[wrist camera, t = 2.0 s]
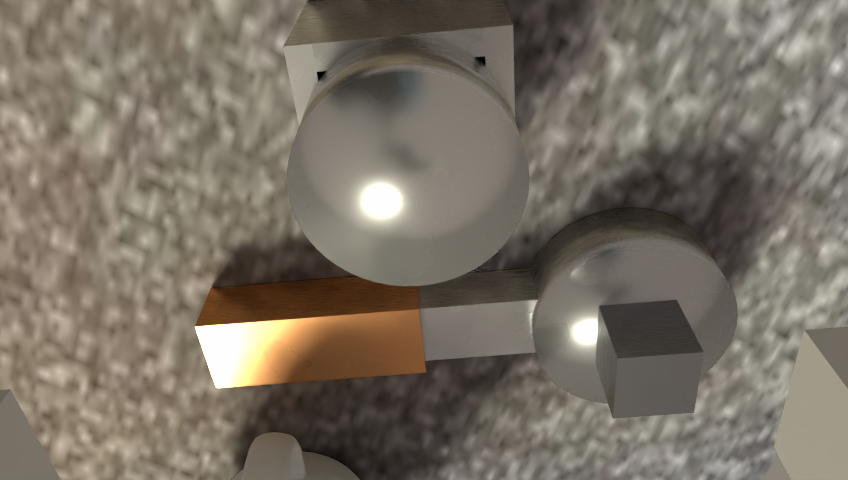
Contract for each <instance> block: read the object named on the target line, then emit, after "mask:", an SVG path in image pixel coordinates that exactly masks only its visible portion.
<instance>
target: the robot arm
mask: <svg viewBox="0 0 848 480" xmlns="http://www.w3.org/2000/svg"><path fill="white" fill-rule="evenodd" d="M774 449H775V450H776V452H777V454H778V456H779V458H780V459H781V461H782V463H783V465H784V467H785V468H786V470H787V472H788V474H789V475H790V477H791V479H792V480H848V327H837V328H824V329H811V330H804V333H803V337H802V341H801V344H800V348H799V352H798V356H797V360H796V364H795V368H794V371H793V375H792V379H791V383H790V387H789V391H788V395H787V398H786V402H785V406H784V410H783V414H782V418H781V422H780V425H779V429H778V433H777V437H776V441H775V445H774ZM0 480H61V479H60V477H59V476H58V474H57V472H56V470H55V468H54V467H53V465H52V463H51V461H50V459H49V458H48V456H47V454H46V452H45V451H44V449H43V447H42V445H41V443H40V442H39V440H38V438H37V436H36V434H35V433H34V431H33V429H32V427H31V426H30V424H29V422H28V420H27V418H26V417H25V415H24V413H23V411H22V409H21V408H20V406H19V404H18V402H17V401H16V399H15V397H14V395H13V393H12V392H11V390H10V389H9V390H0Z"/></svg>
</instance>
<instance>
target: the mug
mask: <svg viewBox="0 0 848 480" xmlns="http://www.w3.org/2000/svg"><path fill="white" fill-rule="evenodd" d="M231 480H360V479H359V478H358V477H357V476H356V475H355V474H354V473H353V472H352V471H351V470H350V469H349V468H348V467H346V466H345V465H343V464H342V463H340V462H338V461H337V460H335V459H332V458H330V457H328V456H324V455H321V454H317V453H312V452H304V451H302V450H301V447H300V445H299V443H298V441H297V440H296V439H295V438H294V437H293V436H291V435H289V434H284V433H277V432H272V433H265V434H262V435H260V436H258V437H256V438H255V439H254V441H253V442H252V444H251V446H250V448H249V451H248V455H247V458H246V462H245V466H244V469H243V470H241V471H240V472H239V473H237V474H236V475H235V476H234V477H233V478H232V479H231Z"/></svg>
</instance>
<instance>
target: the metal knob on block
mask: <svg viewBox="0 0 848 480" xmlns="http://www.w3.org/2000/svg"><path fill="white" fill-rule="evenodd" d="M283 48H284V53H285V58H286V63H287V68H288V73H289V78H290V83H291V88H292V93H293V98H294V102H295V107H296V112H297V117H298V122H299V129H298V132H297V134H296V137H295V140H294V143H293V146H292V149H291V153H290V156H289V161H288V168H287V189H288V195H289V201H290V204H291V207H292V211H293V213H294V216H295V218H296V220H297V222H298V224H299V226H300V228H301V229H302V231H303V232H304V234H305V236H306V237H307V238H308V239H309V241H310V242H311V243H312V244H313V245H314V247H315V248H316V249H317V250H318V251H319V252H321V253H322V254H323V255H324V256H325V257H326V258H327V259H329V260H330V261H331V262H333V263H334V264H336V265H337V266H339V267H340V268H342V269H344V270H346V271H347V272H349V273H351V274H354V275H356V276H358V277H361V278H363V279H367V280H370V281H373V282H377V283H382V284H387V285H395V286H423V285H430V284H436V283H440V282H444V281H448V280H451V279H454V278H456V277H459V276H462V275H464V274H466V273H468V272H470V271H472V270H474V269H475V268H477V267H479V266H480V265H482V264H483V263H485V262H486V261H487V260H489V259H490V258H491V257H492V256H493V255H495V254H496V253H497V252H498V251H499V250H500V249H501V248H502V247H503V245H504V244H505V243H506V242H507V241H508V239H509V238H510V237H511V235H512V234H513V232H514V231H515V229H516V227H517V225H518V223H519V222H520V220H521V217H522V214H523V212H524V209H525V206H526V202H527V197H528V191H529V170H528V162H527V158H526V154H525V150H524V147H523V143H522V140H521V137H520V134H519V130H518V127H517V124H516V121H515V89H514V42H513V23H512V21H511V19H510V16H509V14H508V12H507V9H506V7H505V5H504V2H503V0H320V1H310V2H307V3H306V4H305V6H304V8H303V10H302V12H301V14H300V16H299V18H298V20H297V21H296V23H295V25H294V27H293V29H292V31H291V33H290V35H289V37H288V38H287V40H286V42H285V44H284V46H283Z"/></svg>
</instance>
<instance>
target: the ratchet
mask: <svg viewBox="0 0 848 480" xmlns="http://www.w3.org/2000/svg"><path fill="white" fill-rule="evenodd" d="M737 316H738V313H737V303H736V299H735V295H734V292H733V290H732V288H731V286H730V284H729V283H728V281H727V280H726V278H725V276H724V275H723V273H722V272H721V270H720V269H719V267H718V266H717V264H716V262H715V261H714V259H713V258H712V256H711V255H710V253H709V252H708V250H707V248H706V247H705V245H704V244H703V242H702V241H701V239H700V238H699V237H698V235H697V234H696V233H695V232H694V231H693V230H692V229H691V228H690V227H689V226H688V225H686V224H685V223H683V222H682V221H681V220H679V219H677V218H675V217H673V216H671V215H668V214H665V213H662V212H660V211H655V210H650V209H642V208H620V209H613V210H607V211H603V212H599V213H596V214H593V215H590V216H587V217H585V218H583V219H580V220H578V221H576V222H574V223H572V224H571V225H569V226H568V227H566V228H565V229H563V230H561V231H560V232H559V233H558V234H556V235H555V236H554V237H553V238H552V239H551V240H550V241H549V242H548V243H547V244H546V245H545V246H544V247H543V248H542V249H541V251H540V252H539V253H538V255H537V256H536V258H535V260H534V261H533V263H532V265H531V267H530V268H526V269H513V270H501V271H488V272H476V273H466V274H464V275H462V276H459V277H456V278H454V279H451V280H448V281H444V282H440V283H436V284H430V285H423V286H395V285H387V284H382V283H377V282H373V281H370V280H367V279H363V278H361V277H358V276H354V277H342V278H329V279H317V280H305V281H292V282H280V283H267V284H255V285H242V286H230V287H217V288H211V289H210V292H209V294H208V296H207V299H206V301H205V304H204V306H203V308H202V311H201V313H200V316H199V318H198V320H197V323H196V325H195V329H196V332H197V334H198V337H199V340H200V343H201V346H202V349H203V352H204V355H205V357H206V360H207V363H208V366H209V369H210V372H211V375H212V378H213V380H214V383H215V386H216V388H225V387H239V386H252V385H266V384H279V383H293V382H306V381H319V380H333V379H346V378H360V377H373V376H387V375H400V374H413V373H426V361H429V360H442V359H455V358H469V357H482V356H495V355H509V354H522V353H535V352H536V355H537V358H538V361H539V363H540V365H541V367H542V369H543V370H544V372H545V373H546V374H547V376H548V377H549V378H550V379H551V380H552V381H553V382H554V383H555V384H557V385H558V386H559V387H561V388H562V389H563V390H565V391H567V392H569V393H571V394H573V395H575V396H577V397H580V398H583V399H586V400H590V401H594V402H599V403H607V404H608V405H609V408H610V411H611V414H612V417H613V418H624V417H638V416H652V415H666V414H680V413H694V408H695V402H696V397H697V391H698V385H699V379H700V377H701V376H702V375H704V374H705V373H706V372H707V371H708V370H709V369H710V368H712V367H713V366H714V365H715V364H716V362H717V361H718V360H719V359H720V358H721V356H722V355H723V354H724V352H725V351H726V349H727V347H728V346H729V344H730V342H731V340H732V337H733V335H734V332H735V328H736V325H737Z"/></svg>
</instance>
